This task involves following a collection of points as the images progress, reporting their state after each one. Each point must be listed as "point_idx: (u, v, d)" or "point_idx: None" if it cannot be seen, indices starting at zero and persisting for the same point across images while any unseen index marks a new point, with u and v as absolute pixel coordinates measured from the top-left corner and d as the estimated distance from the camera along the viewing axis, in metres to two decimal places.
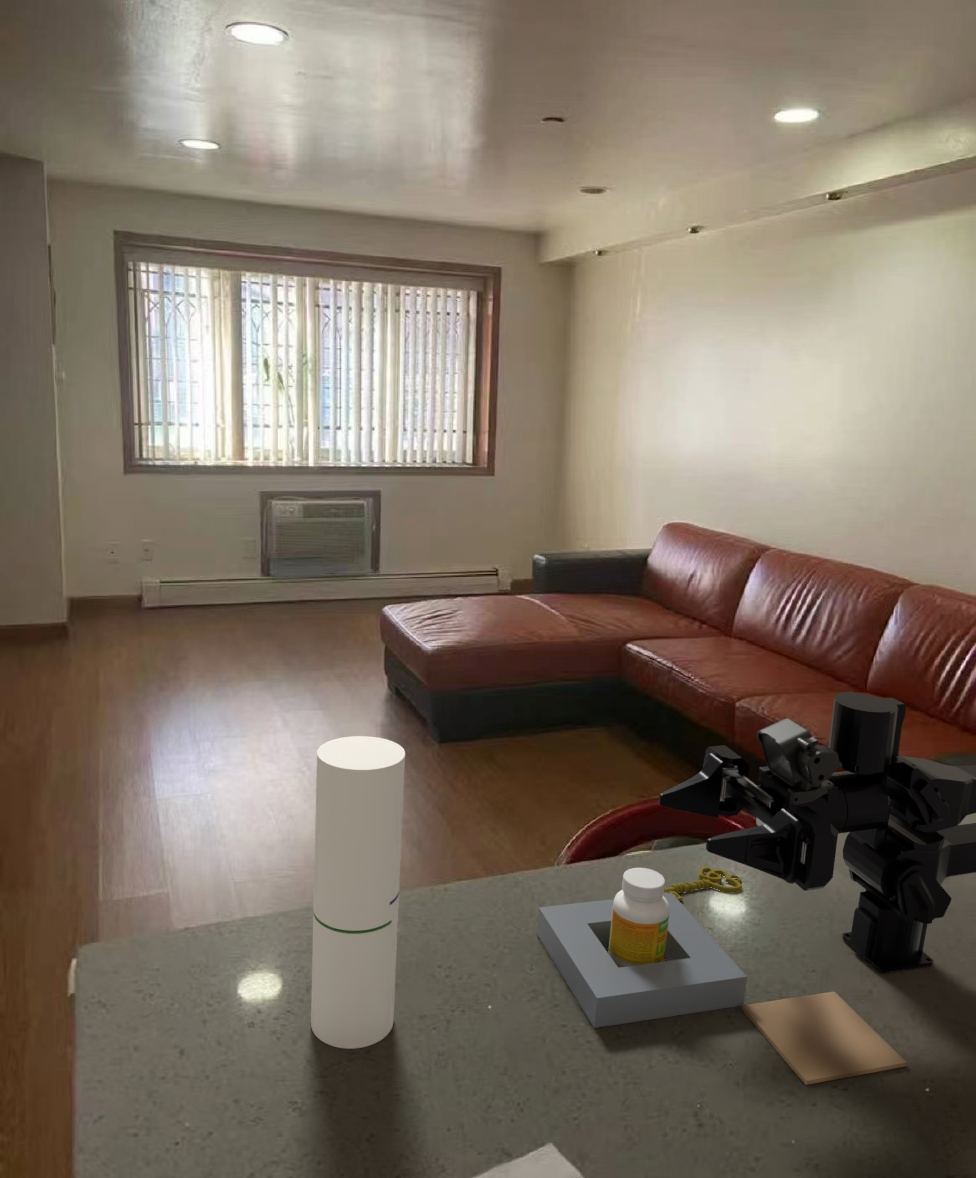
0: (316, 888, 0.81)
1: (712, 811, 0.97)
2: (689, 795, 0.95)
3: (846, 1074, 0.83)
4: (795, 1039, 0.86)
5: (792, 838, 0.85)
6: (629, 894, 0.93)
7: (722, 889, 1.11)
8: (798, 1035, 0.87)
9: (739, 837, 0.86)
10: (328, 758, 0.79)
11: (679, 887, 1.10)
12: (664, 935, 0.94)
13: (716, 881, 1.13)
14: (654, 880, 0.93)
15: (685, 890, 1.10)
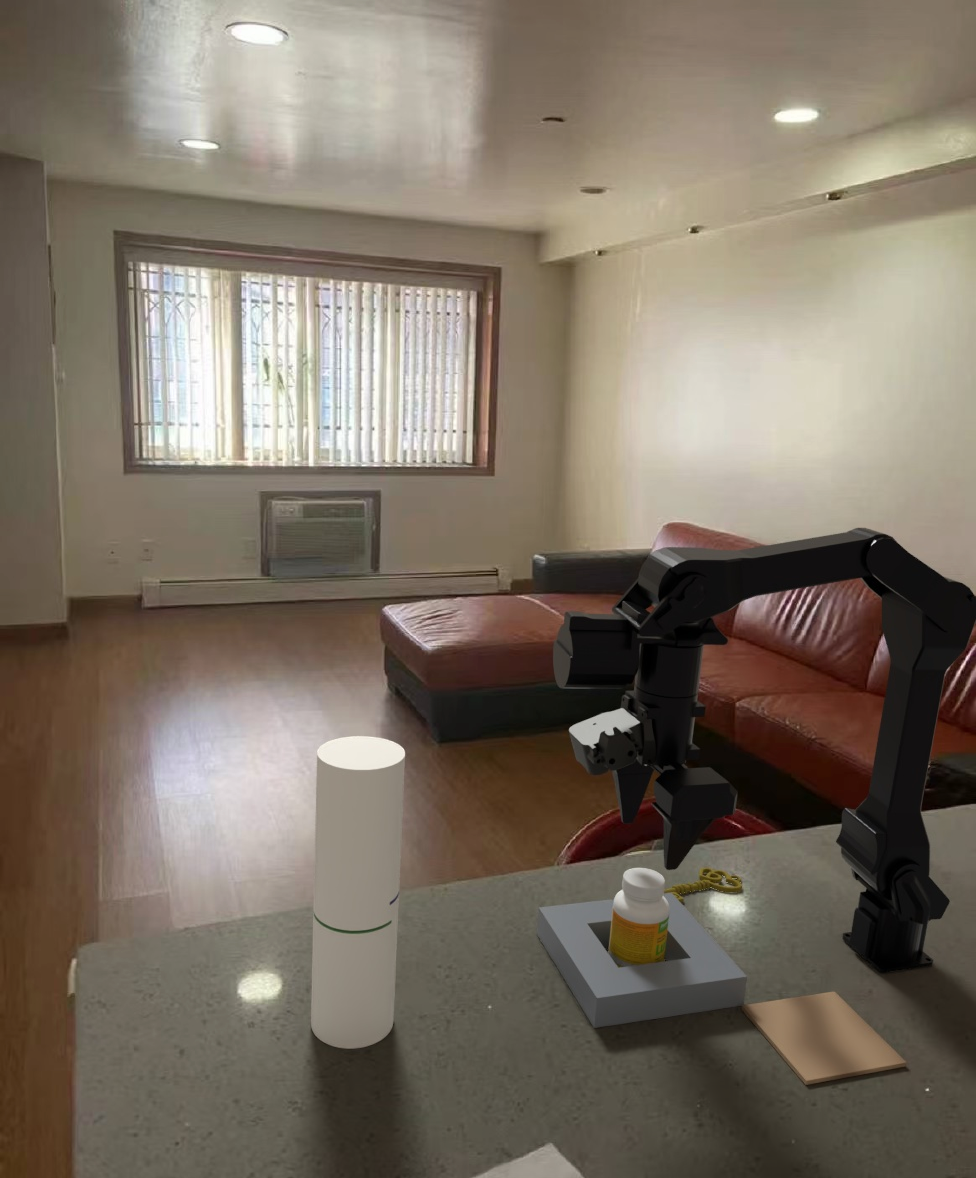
0: (316, 888, 0.81)
1: None
2: (629, 792, 0.97)
3: (846, 1074, 0.83)
4: (795, 1039, 0.86)
5: None
6: (629, 894, 0.93)
7: (723, 889, 1.11)
8: (798, 1035, 0.87)
9: (670, 847, 0.87)
10: (328, 758, 0.79)
11: (680, 888, 1.10)
12: (664, 935, 0.94)
13: (717, 882, 1.13)
14: (654, 880, 0.93)
15: (686, 891, 1.10)
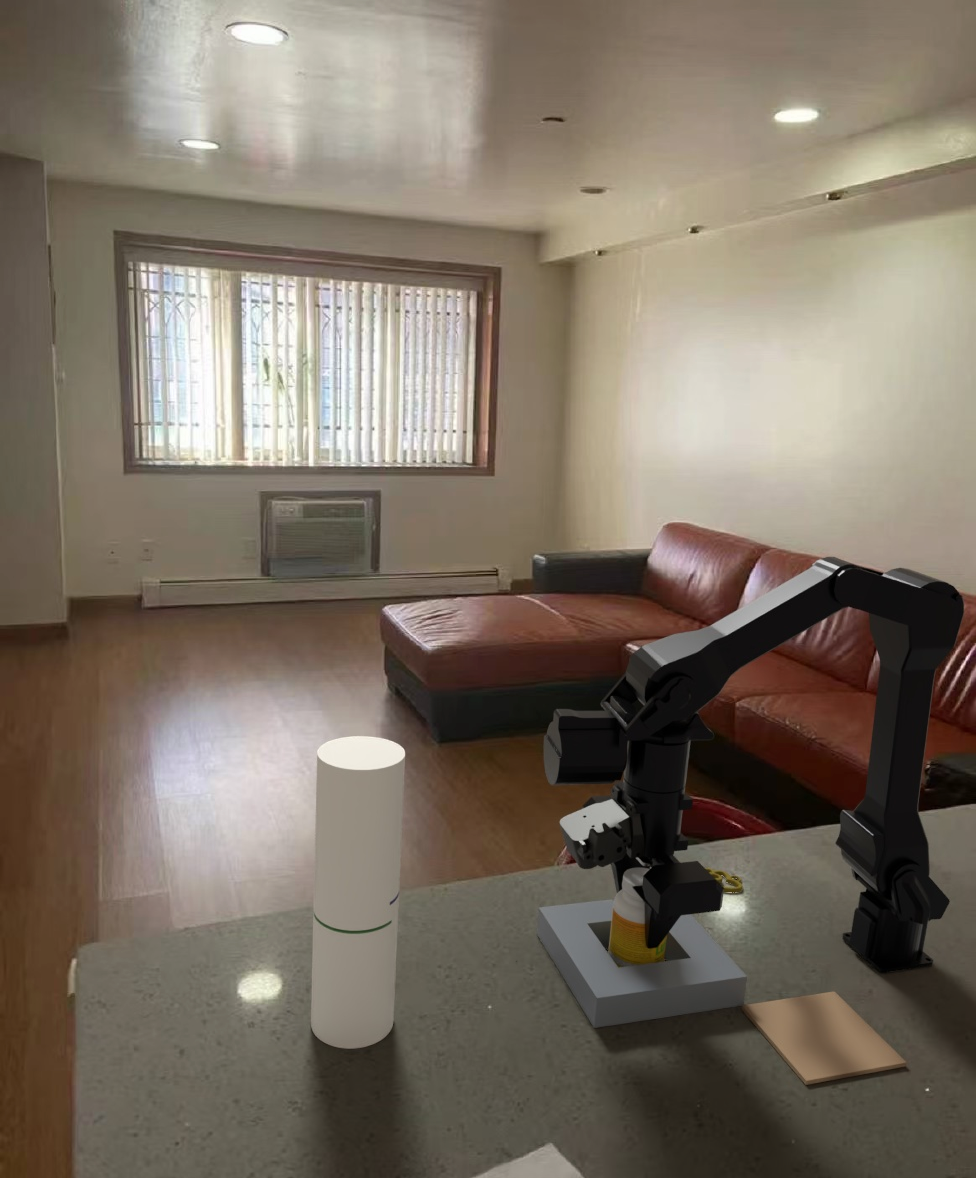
0: (316, 888, 0.81)
1: None
2: None
3: (846, 1074, 0.83)
4: (795, 1039, 0.86)
5: None
6: (629, 894, 0.93)
7: None
8: (798, 1035, 0.87)
9: (650, 927, 0.91)
10: (328, 758, 0.79)
11: None
12: None
13: None
14: None
15: None
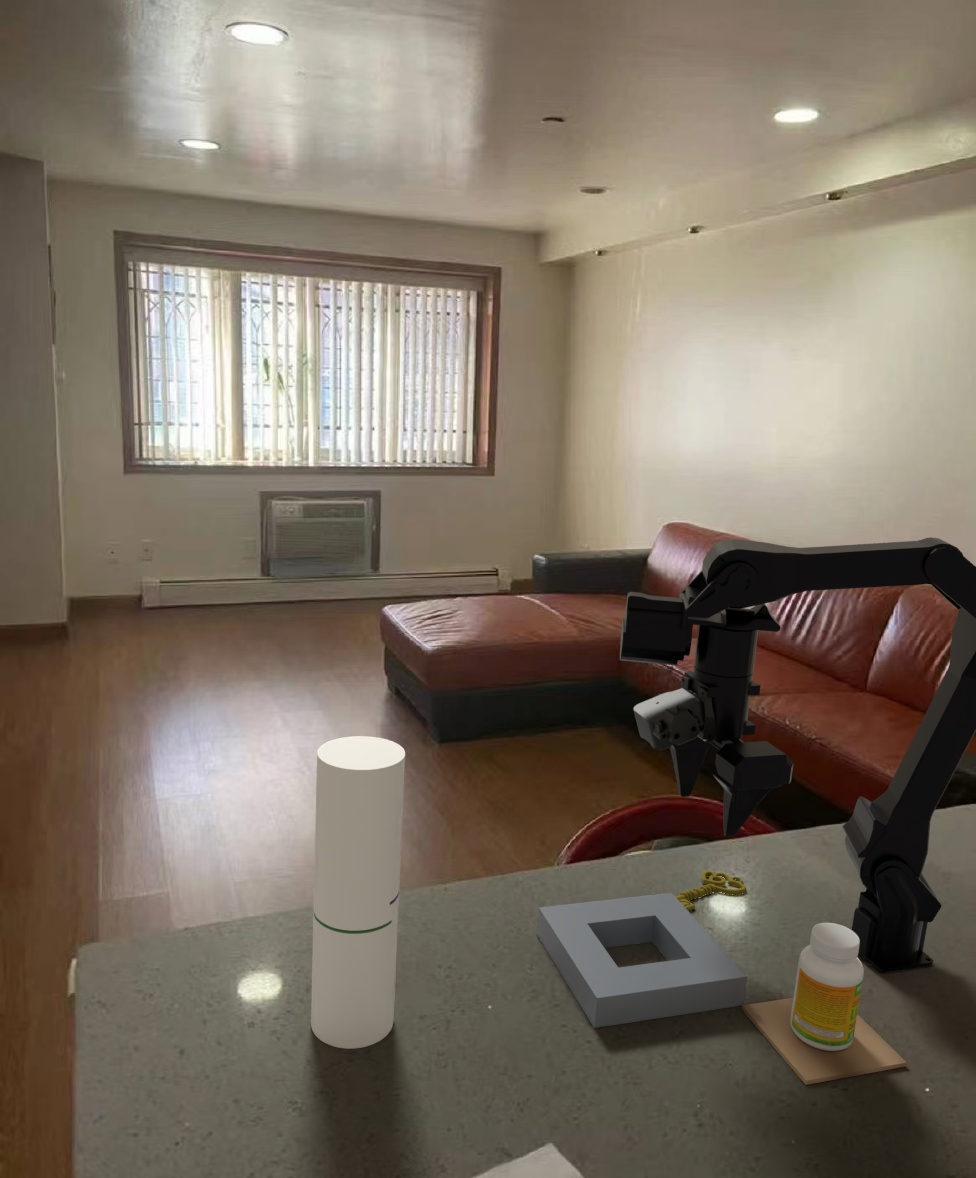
0: (316, 888, 0.81)
1: None
2: (686, 767, 1.04)
3: (846, 1074, 0.83)
4: (795, 1039, 0.86)
5: None
6: (821, 953, 0.84)
7: (729, 892, 1.11)
8: None
9: (729, 815, 0.95)
10: (328, 758, 0.79)
11: (689, 894, 1.09)
12: (859, 998, 0.85)
13: (721, 885, 1.12)
14: (847, 938, 0.85)
15: (695, 897, 1.09)
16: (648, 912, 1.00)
